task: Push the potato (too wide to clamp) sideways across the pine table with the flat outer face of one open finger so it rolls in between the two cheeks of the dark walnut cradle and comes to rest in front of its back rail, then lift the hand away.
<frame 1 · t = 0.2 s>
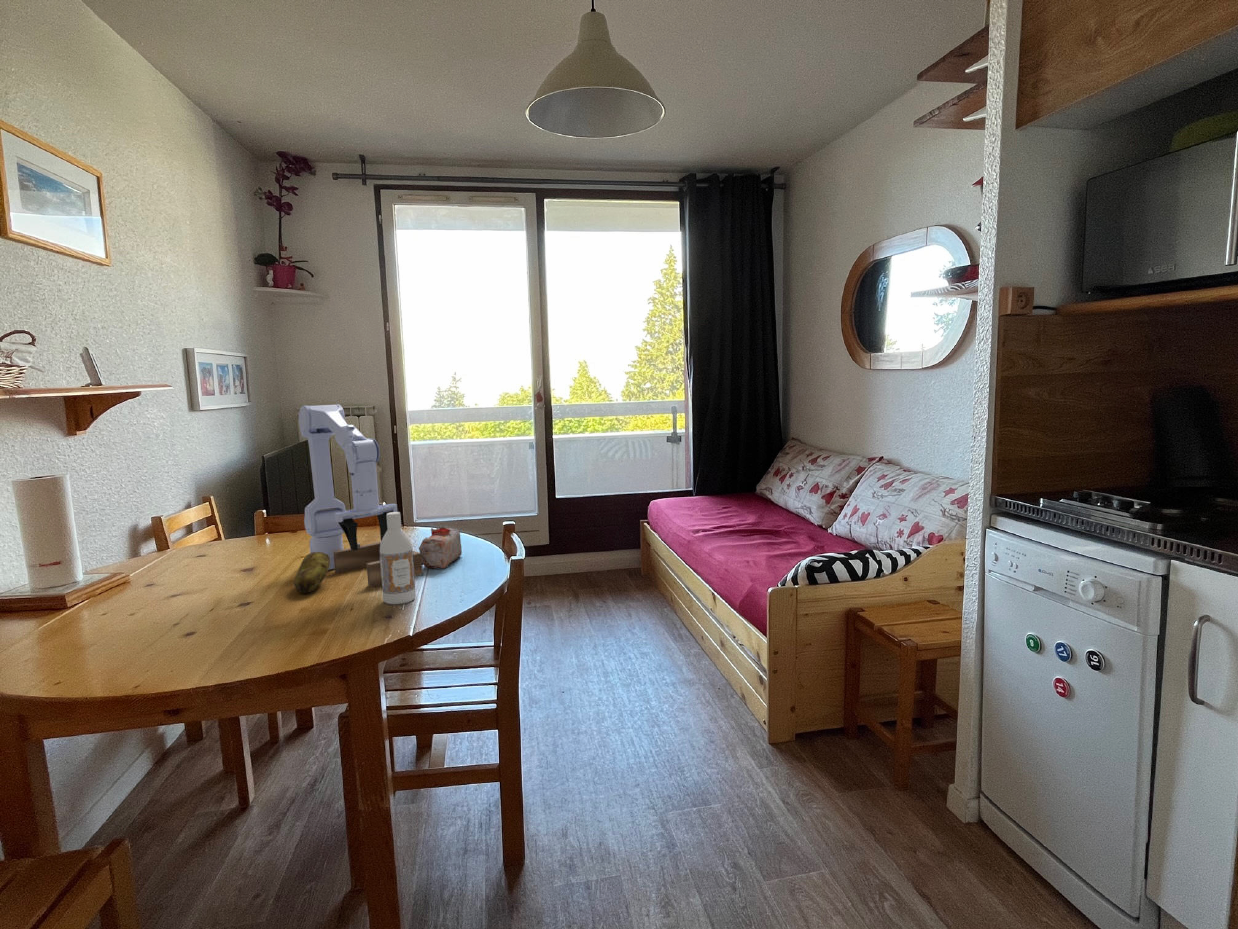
hand: (369, 546, 155), 10 cm above the table, tool pointing down, fingers open, 7 cm apart
food item: (442, 564, 176), on the table
cradle: (373, 574, 167), on the table
potato: (312, 588, 157), on the table
bath foam: (399, 600, 146), on the table
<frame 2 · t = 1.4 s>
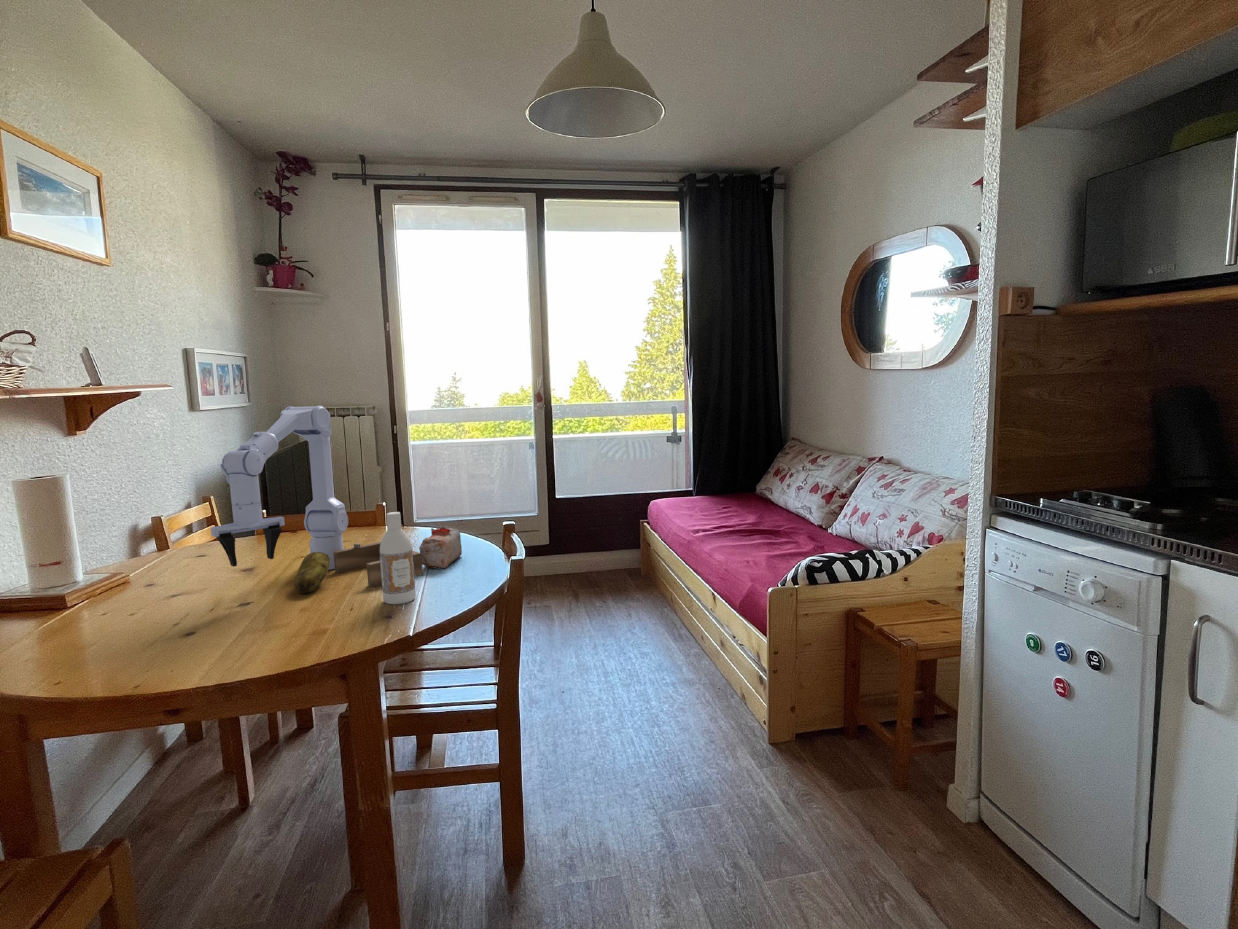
hand: (252, 561, 147), 9 cm above the table, tool pointing down, fingers open, 7 cm apart
nothing on the table moved.
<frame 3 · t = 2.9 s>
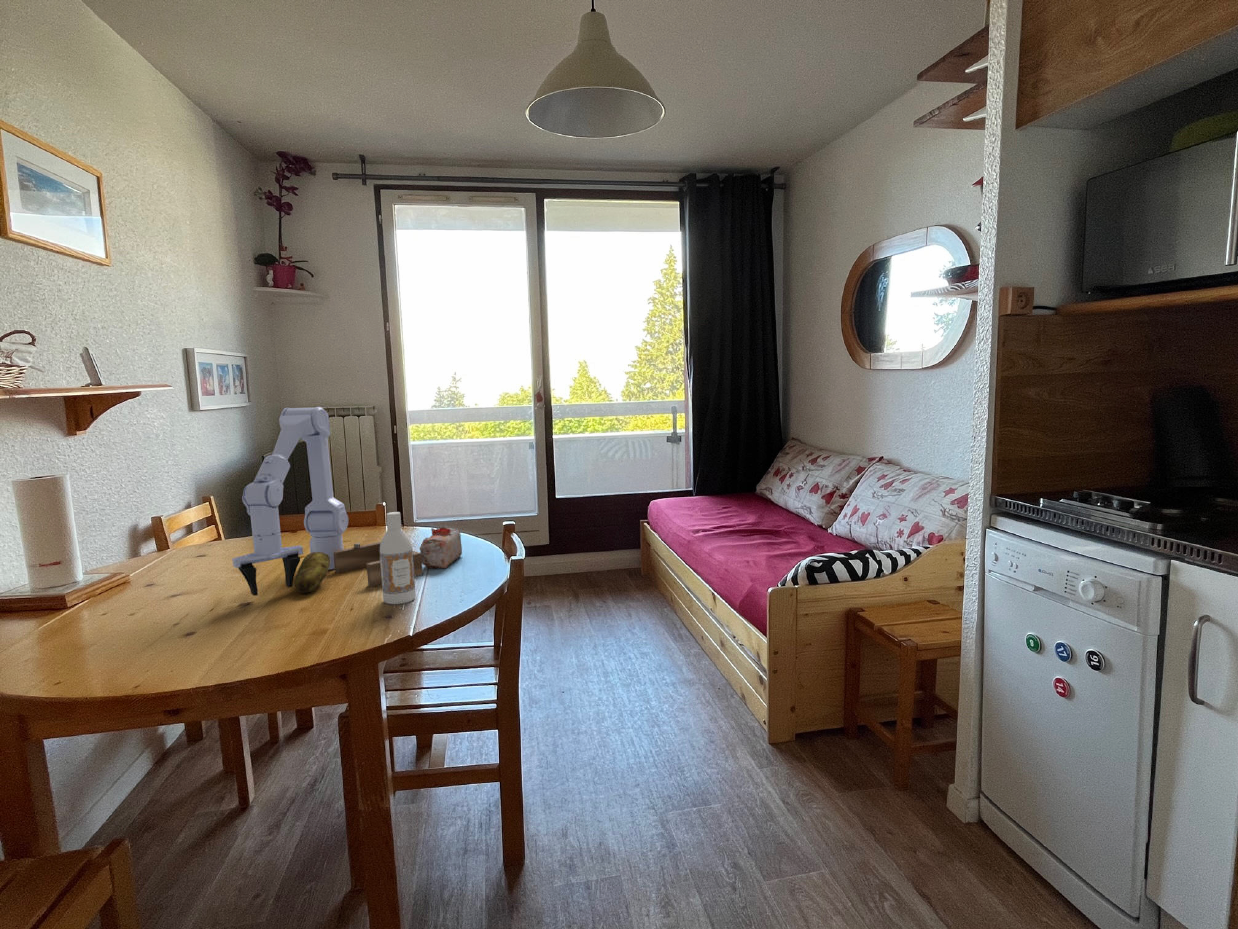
hand: (272, 590, 151), 2 cm above the table, tool pointing down, fingers open, 7 cm apart
potato: (312, 588, 157), on the table, touching gripper
everything else where it was.
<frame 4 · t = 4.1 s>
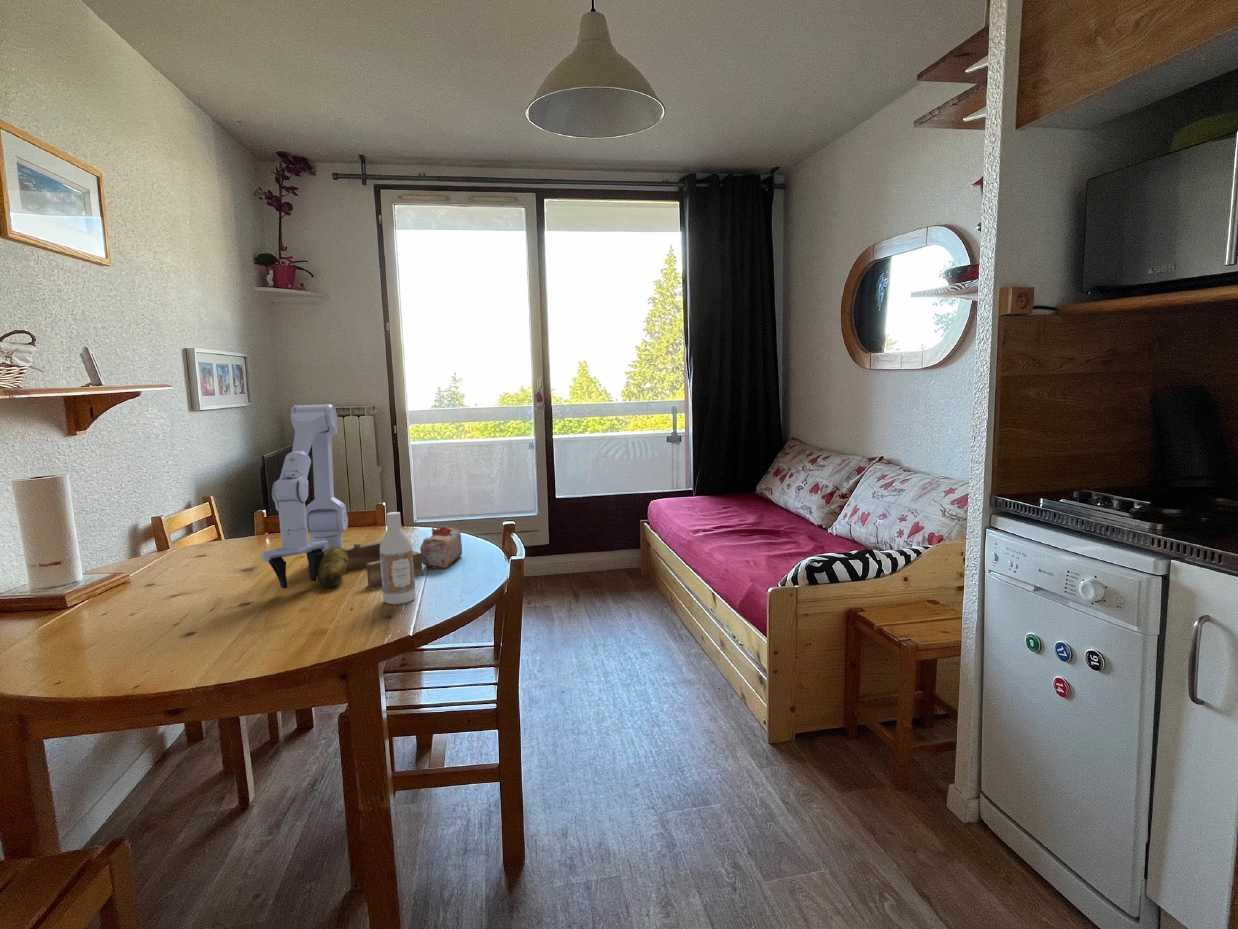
hand: (299, 584, 155), 2 cm above the table, tool pointing down, fingers open, 6 cm apart
potato: (332, 582, 161), on the table, touching gripper
everything else where it was.
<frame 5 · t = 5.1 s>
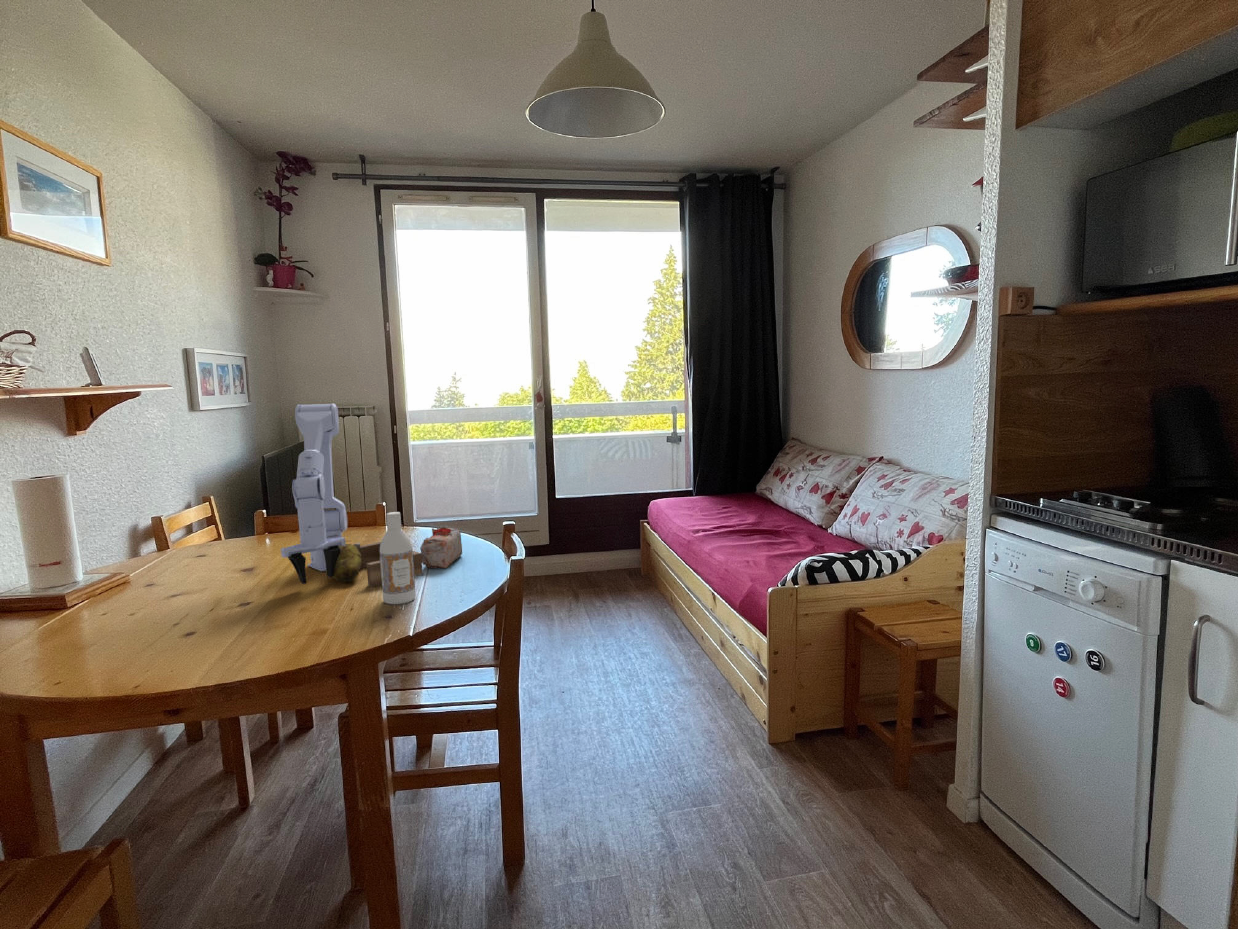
hand: (317, 580, 158), 2 cm above the table, tool pointing down, fingers open, 6 cm apart
potato: (346, 578, 164), on the table, touching cradle, gripper
everything else where it was.
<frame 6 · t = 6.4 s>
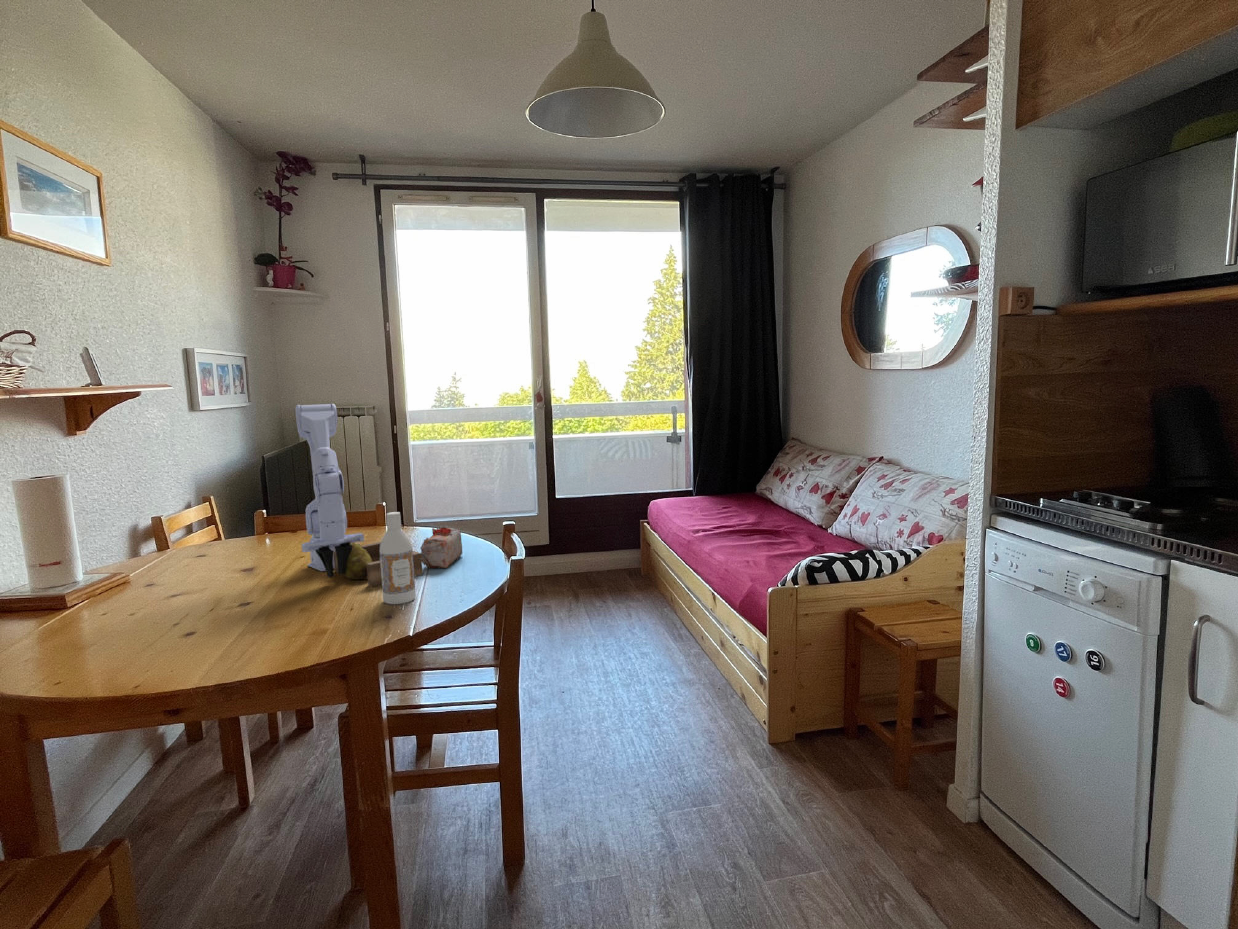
hand: (336, 575, 161), 2 cm above the table, tool pointing down, fingers closed
potato: (355, 576, 166), on the table, touching cradle, gripper
everything else where it was.
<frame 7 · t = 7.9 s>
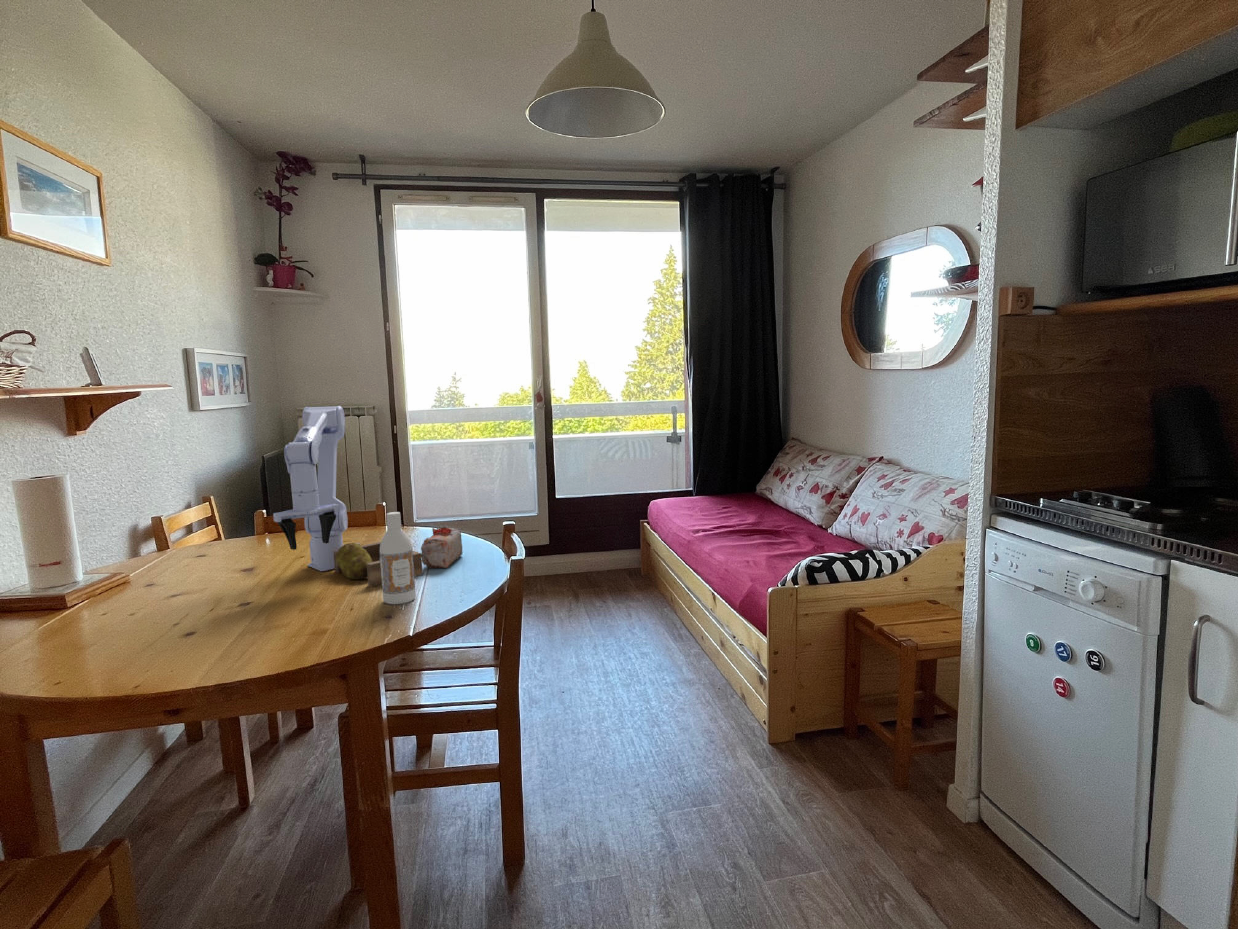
hand: (309, 545, 158), 10 cm above the table, tool pointing down, fingers open, 7 cm apart
potato: (355, 576, 166), on the table, touching cradle
everything else where it was.
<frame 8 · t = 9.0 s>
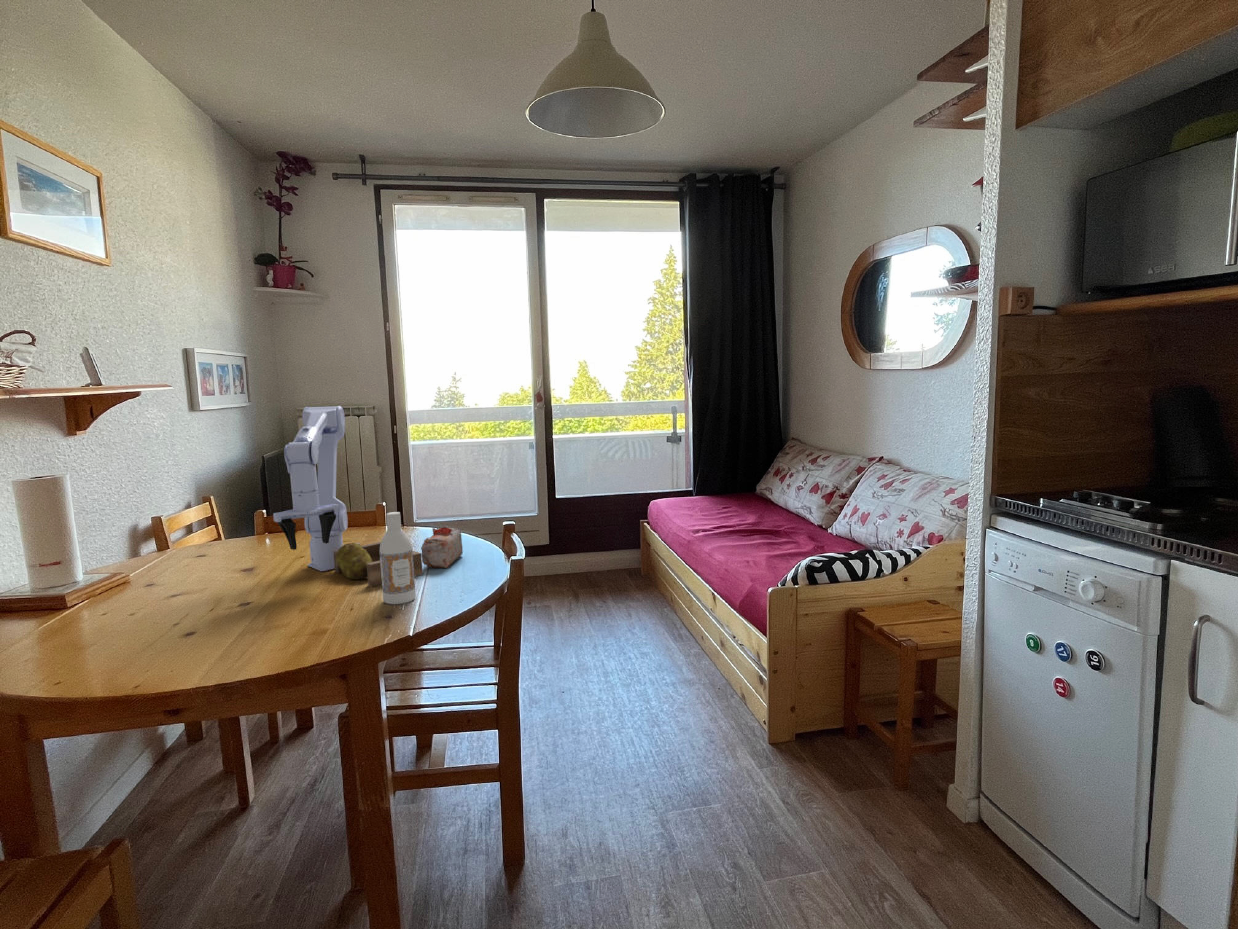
hand: (309, 545, 158), 10 cm above the table, tool pointing down, fingers open, 7 cm apart
nothing on the table moved.
at the end: potato inside the target area (4.7 cm from its centre), on the table; potato moved 11.2 cm from its start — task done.
